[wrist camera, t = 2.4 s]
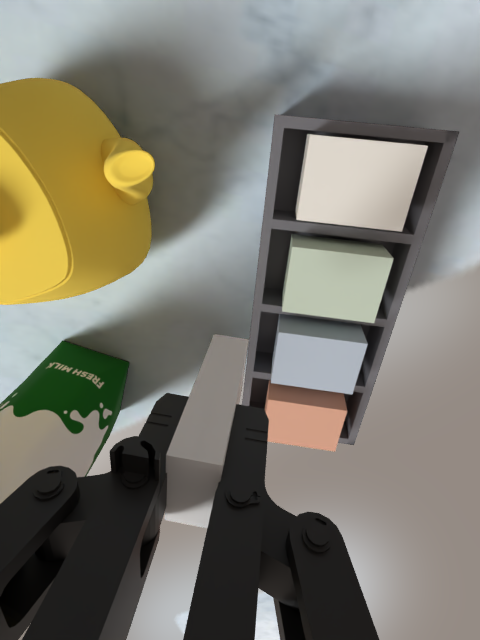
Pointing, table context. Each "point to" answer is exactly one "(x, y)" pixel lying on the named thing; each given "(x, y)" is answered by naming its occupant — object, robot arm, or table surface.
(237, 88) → the table surface
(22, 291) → the teapot
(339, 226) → the keypad base
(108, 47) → the table surface
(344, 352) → the key
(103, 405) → the milk carton
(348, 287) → the key
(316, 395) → the key
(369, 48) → the table surface
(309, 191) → the key
